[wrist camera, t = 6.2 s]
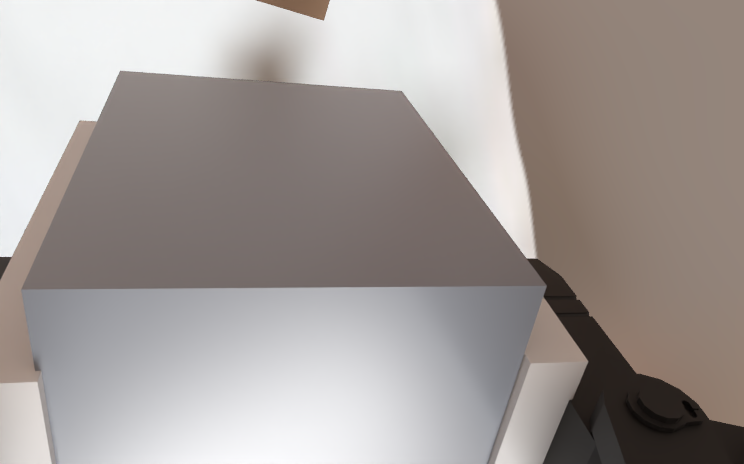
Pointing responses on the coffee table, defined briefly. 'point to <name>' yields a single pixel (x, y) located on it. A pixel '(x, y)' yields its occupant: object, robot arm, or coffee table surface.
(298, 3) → the walnut post
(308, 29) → the coffee table surface
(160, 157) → the grey matte cube
